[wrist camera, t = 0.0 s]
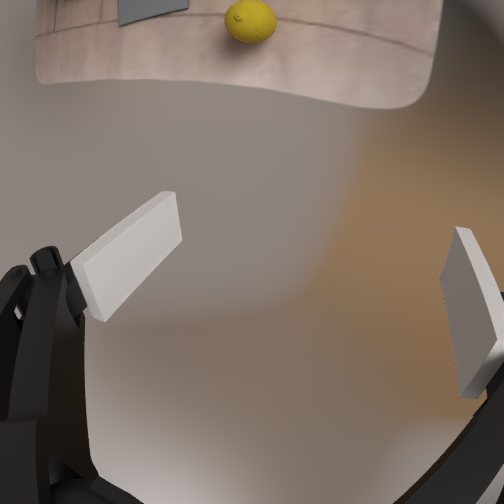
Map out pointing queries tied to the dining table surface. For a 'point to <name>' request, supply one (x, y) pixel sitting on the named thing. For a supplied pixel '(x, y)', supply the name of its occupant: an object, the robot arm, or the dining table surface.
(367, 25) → the dining table surface
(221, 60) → the dining table surface
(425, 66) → the dining table surface
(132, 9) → the mat
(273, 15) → the lemon
